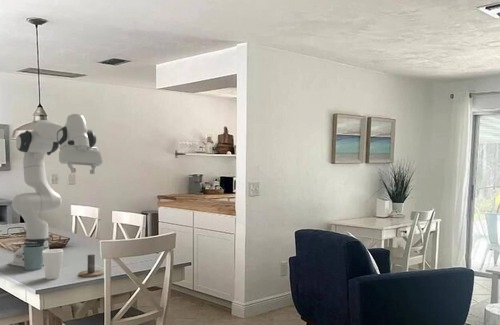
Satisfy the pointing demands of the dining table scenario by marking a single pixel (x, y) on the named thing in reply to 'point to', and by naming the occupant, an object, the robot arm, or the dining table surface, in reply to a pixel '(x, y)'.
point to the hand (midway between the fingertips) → (83, 173)
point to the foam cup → (52, 263)
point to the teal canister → (33, 257)
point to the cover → (91, 268)
